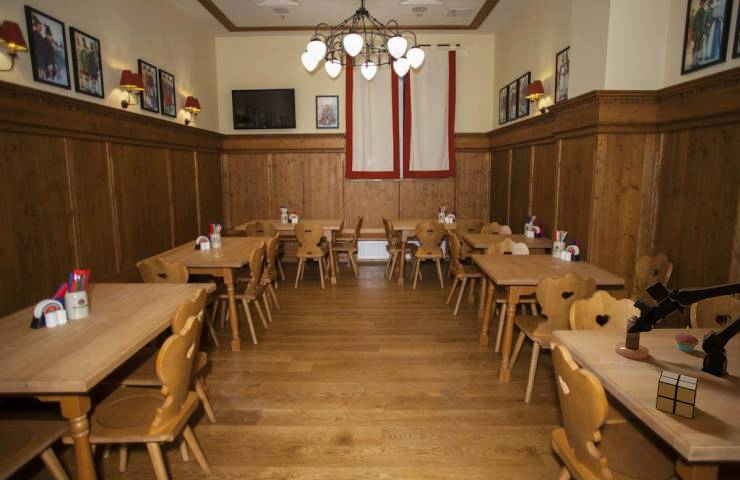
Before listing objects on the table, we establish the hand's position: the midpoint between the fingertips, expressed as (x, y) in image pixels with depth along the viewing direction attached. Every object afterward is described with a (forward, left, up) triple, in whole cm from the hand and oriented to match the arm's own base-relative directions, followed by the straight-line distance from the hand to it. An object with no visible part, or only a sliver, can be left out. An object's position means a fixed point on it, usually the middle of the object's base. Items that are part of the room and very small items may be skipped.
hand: (629, 329), depth 186 cm
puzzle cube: (-36, +26, -11) cm, 46 cm away
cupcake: (-8, -26, -11) cm, 29 cm away
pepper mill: (-1, -1, -8) cm, 8 cm away
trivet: (-1, -1, -11) cm, 11 cm away
